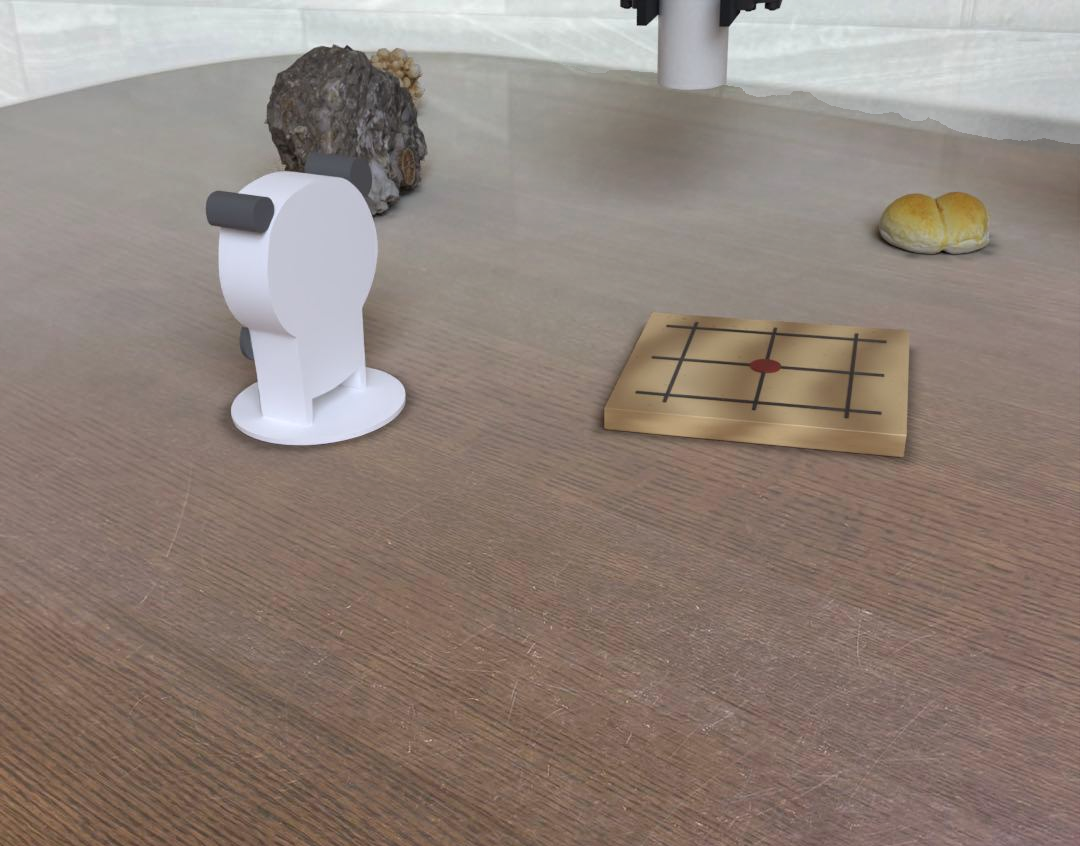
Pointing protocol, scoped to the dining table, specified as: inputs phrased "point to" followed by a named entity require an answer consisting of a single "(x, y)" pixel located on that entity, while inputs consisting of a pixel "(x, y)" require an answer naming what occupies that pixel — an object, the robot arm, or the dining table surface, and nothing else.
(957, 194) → the bread roll
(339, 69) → the rock
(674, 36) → the white tube
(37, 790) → the dining table surface
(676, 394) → the game board
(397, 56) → the mineral formation
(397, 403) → the white plastic upright piece
